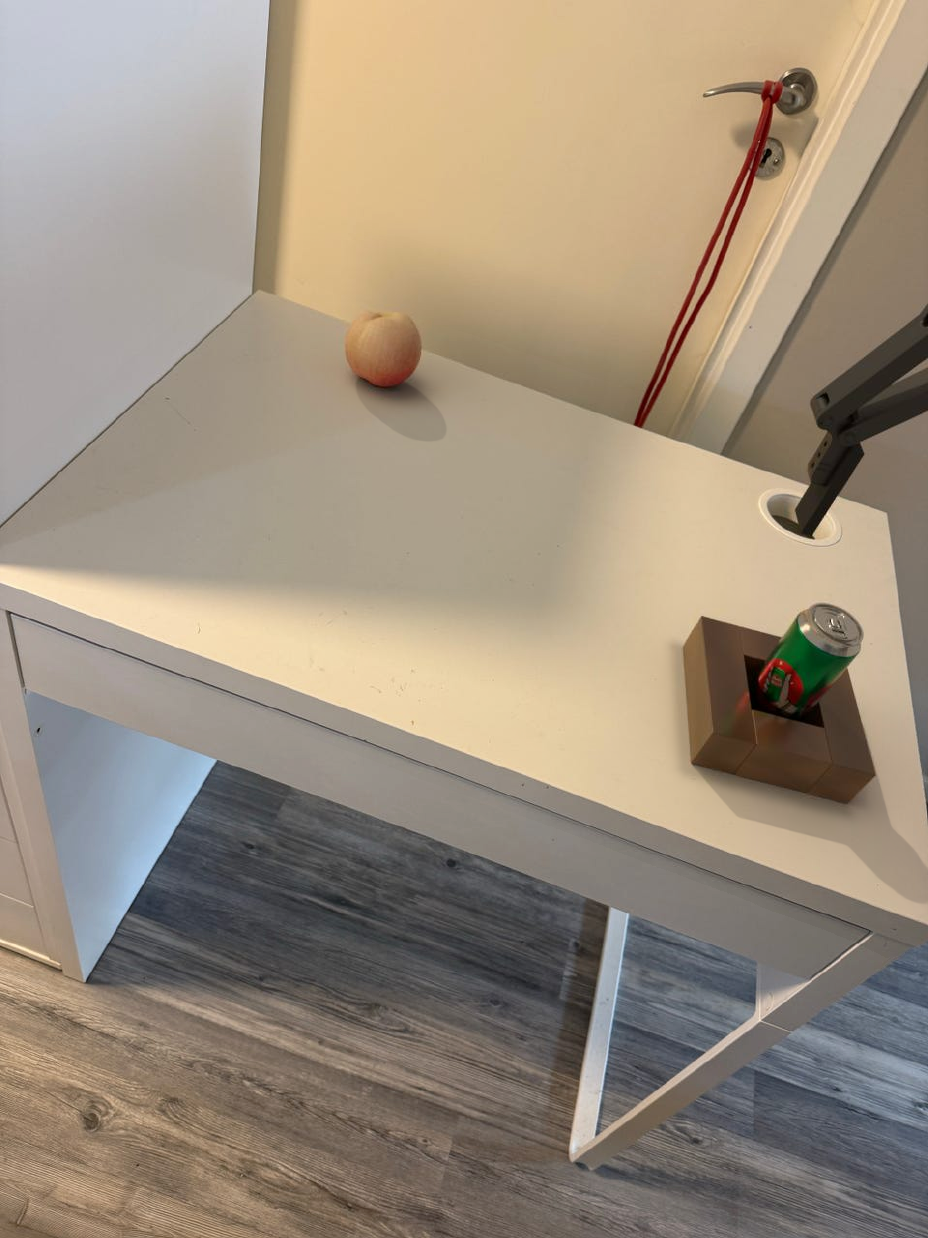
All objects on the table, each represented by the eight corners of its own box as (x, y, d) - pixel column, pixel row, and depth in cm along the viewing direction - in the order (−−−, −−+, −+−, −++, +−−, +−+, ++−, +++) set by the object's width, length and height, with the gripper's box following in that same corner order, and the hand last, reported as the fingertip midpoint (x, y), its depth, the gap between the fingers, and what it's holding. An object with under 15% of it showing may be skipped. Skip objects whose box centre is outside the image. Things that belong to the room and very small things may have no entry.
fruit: (386, 356, 99) (397, 291, 94) (426, 392, 96) (440, 326, 90) (328, 366, 95) (336, 298, 89) (368, 404, 91) (379, 336, 86)
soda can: (782, 703, 73) (857, 606, 65) (796, 751, 69) (877, 654, 61) (727, 693, 72) (796, 593, 64) (738, 740, 69) (813, 641, 60)
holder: (820, 683, 76) (843, 653, 73) (848, 804, 66) (876, 775, 64) (682, 646, 75) (701, 615, 72) (690, 763, 66) (712, 732, 63)
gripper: (1318, 269, 46) (1049, 560, 60) (886, 141, 45) (717, 470, 59) (1413, 327, 40) (1092, 632, 55) (924, 183, 39) (727, 534, 54)
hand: (897, 549), depth 57 cm, fingers open, 13 cm apart
